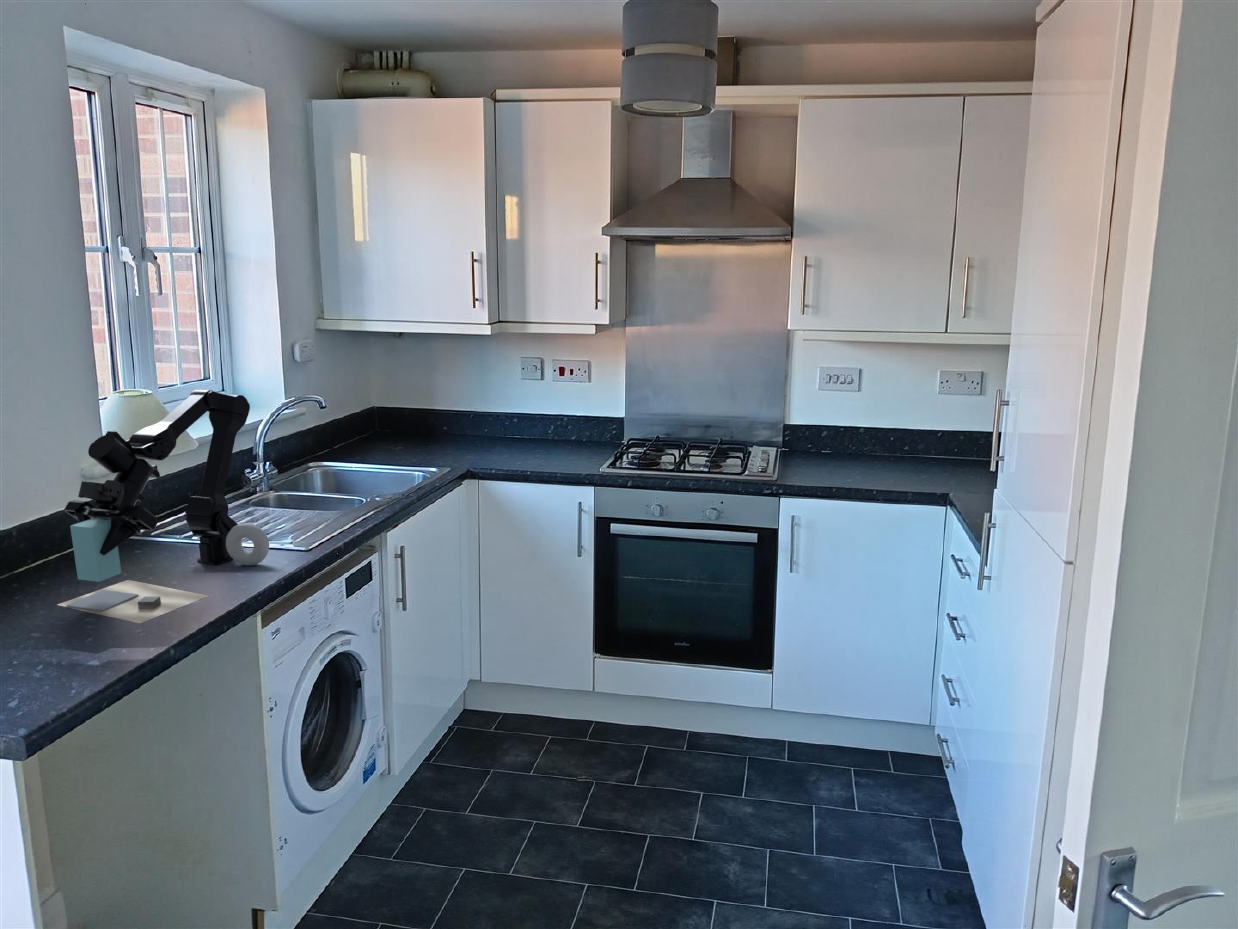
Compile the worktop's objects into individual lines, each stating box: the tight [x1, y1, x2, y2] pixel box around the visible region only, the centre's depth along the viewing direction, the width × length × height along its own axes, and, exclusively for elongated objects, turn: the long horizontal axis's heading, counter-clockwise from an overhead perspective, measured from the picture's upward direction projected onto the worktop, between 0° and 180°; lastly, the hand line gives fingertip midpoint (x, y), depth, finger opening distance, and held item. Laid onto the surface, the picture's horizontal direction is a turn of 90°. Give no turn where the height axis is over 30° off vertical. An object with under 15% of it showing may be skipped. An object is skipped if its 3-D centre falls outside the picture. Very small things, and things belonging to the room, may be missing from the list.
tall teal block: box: [69, 518, 122, 583], centre depth 186 cm, size 5×5×11 cm
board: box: [56, 579, 209, 625], centre depth 189 cm, size 16×24×3 cm, turn 65°
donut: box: [226, 522, 270, 567], centre depth 213 cm, size 10×3×10 cm, turn 84°
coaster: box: [66, 590, 139, 612], centre depth 188 cm, size 9×9×1 cm
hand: (90, 553), depth 185 cm, fingers closed on tall teal block, 5 cm apart
